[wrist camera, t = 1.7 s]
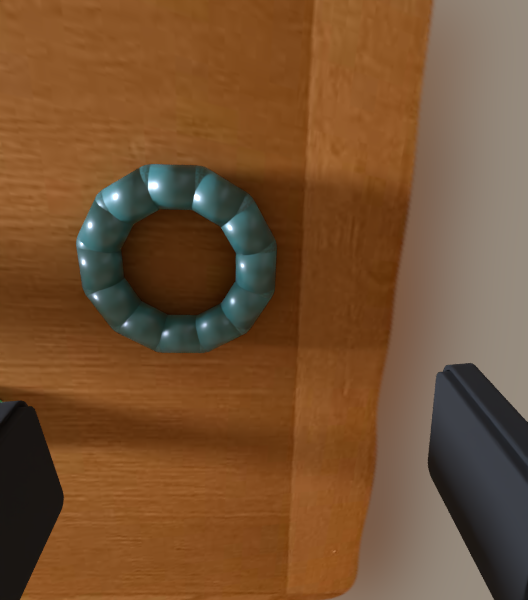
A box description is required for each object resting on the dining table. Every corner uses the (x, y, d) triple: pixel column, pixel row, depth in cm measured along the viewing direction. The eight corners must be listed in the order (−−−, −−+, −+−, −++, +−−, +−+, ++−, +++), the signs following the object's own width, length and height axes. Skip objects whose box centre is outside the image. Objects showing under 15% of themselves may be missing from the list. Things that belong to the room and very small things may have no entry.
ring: (214, 123, 20) (211, 124, 18) (305, 292, 23) (310, 308, 22) (46, 223, 22) (28, 233, 20) (156, 367, 25) (148, 388, 23)
